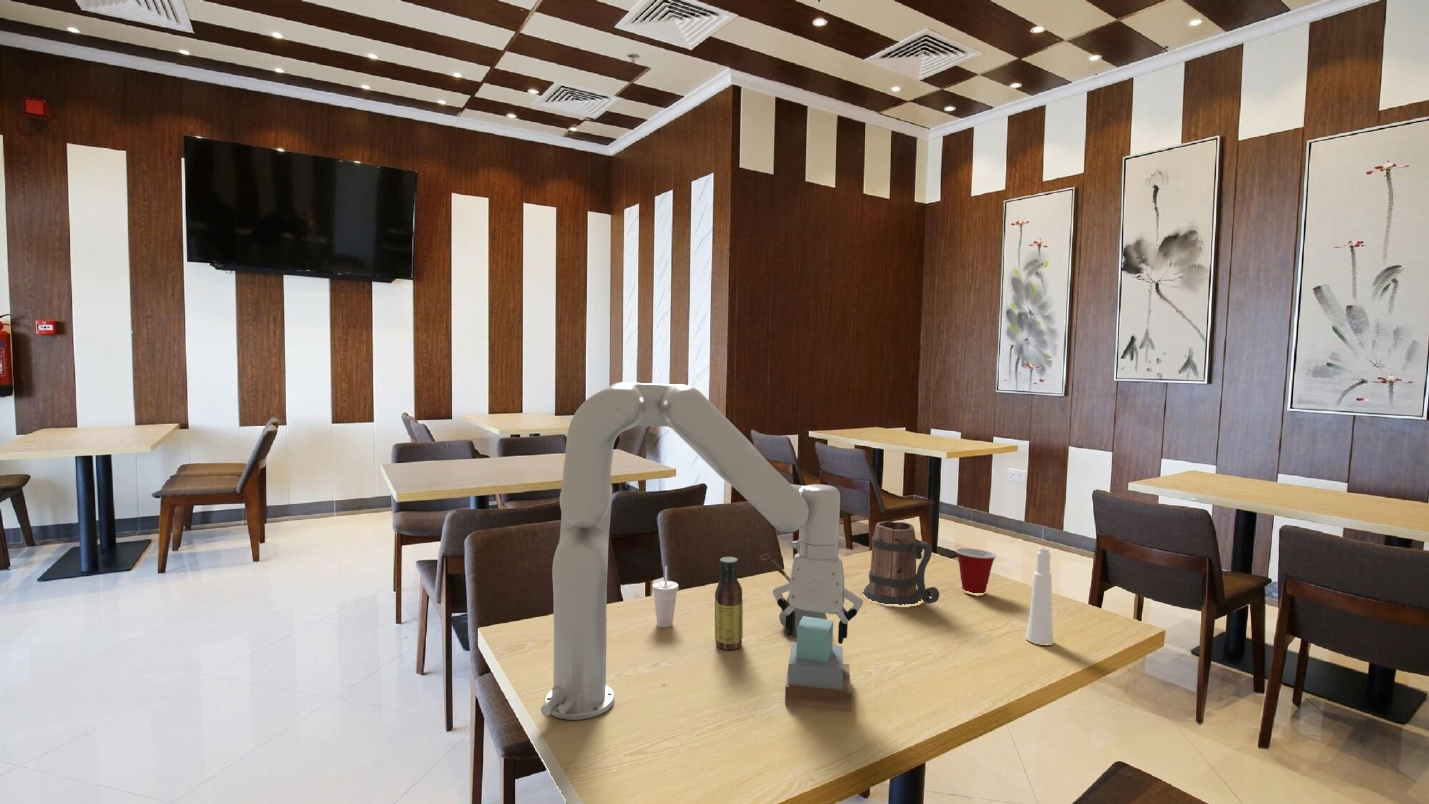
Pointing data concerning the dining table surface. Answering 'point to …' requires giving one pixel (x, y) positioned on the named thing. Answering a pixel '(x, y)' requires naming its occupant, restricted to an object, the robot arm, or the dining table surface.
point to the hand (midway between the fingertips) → (815, 637)
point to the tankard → (898, 566)
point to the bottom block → (820, 695)
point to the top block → (816, 670)
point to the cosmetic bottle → (1041, 601)
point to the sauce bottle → (728, 606)
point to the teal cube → (814, 639)
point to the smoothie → (665, 601)
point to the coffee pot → (798, 612)
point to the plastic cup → (975, 568)
